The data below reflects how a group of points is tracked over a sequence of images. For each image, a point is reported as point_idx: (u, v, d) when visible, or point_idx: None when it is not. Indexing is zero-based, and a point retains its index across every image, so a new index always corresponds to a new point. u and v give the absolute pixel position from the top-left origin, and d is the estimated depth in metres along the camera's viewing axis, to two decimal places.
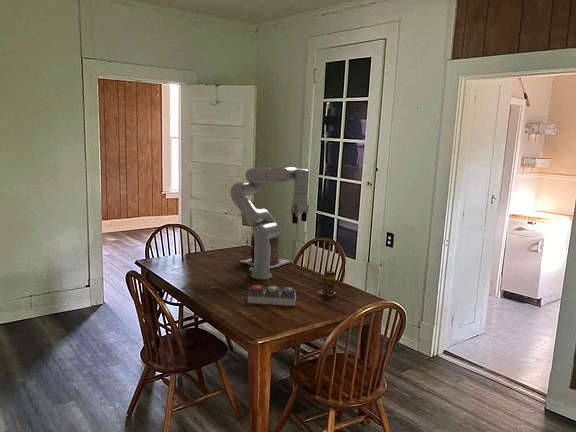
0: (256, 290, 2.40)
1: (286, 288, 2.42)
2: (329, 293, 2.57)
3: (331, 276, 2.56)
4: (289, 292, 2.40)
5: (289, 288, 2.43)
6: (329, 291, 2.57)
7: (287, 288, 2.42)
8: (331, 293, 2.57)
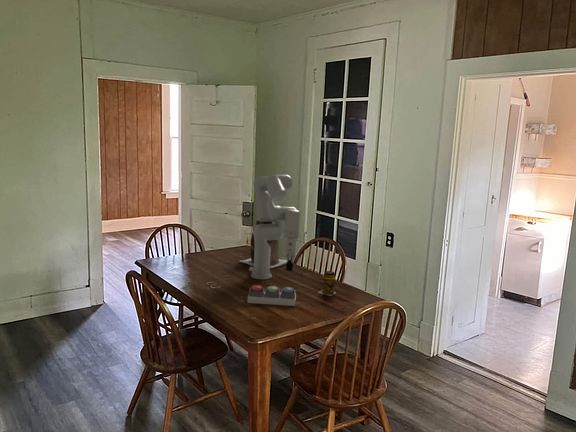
0: (256, 290, 2.40)
1: (286, 288, 2.42)
2: (329, 293, 2.57)
3: (331, 276, 2.56)
4: (289, 292, 2.40)
5: (289, 288, 2.43)
6: (329, 291, 2.57)
7: (287, 288, 2.42)
8: (331, 293, 2.57)
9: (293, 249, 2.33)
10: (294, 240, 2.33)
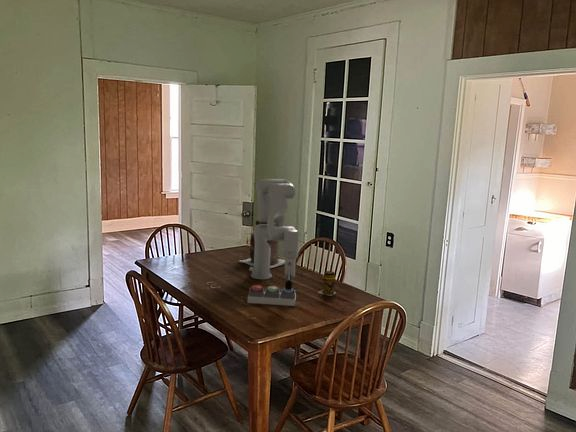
0: (256, 290, 2.40)
1: None
2: (329, 293, 2.57)
3: (331, 276, 2.56)
4: (289, 292, 2.40)
5: None
6: (329, 291, 2.57)
7: None
8: (331, 293, 2.57)
9: (292, 269, 2.35)
10: (293, 260, 2.35)
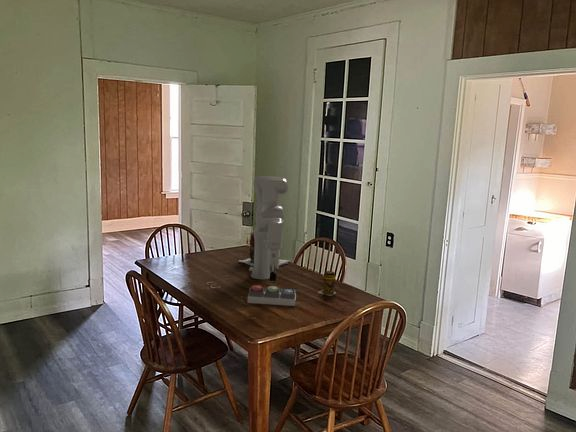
0: (256, 290, 2.40)
1: (286, 290, 2.43)
2: (329, 293, 2.57)
3: (331, 276, 2.56)
4: None
5: (289, 290, 2.43)
6: (329, 291, 2.57)
7: (287, 290, 2.43)
8: (331, 293, 2.57)
9: (276, 260, 2.35)
10: (277, 251, 2.35)
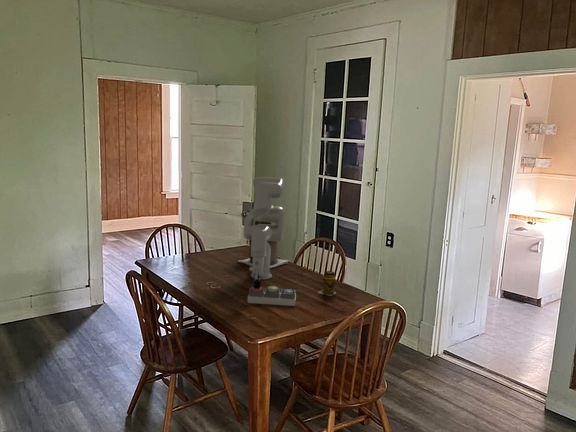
0: (256, 291, 2.40)
1: (286, 290, 2.43)
2: (329, 293, 2.57)
3: (331, 276, 2.56)
4: None
5: (289, 290, 2.43)
6: (329, 291, 2.57)
7: (287, 290, 2.43)
8: (331, 293, 2.57)
9: (260, 268, 2.36)
10: (261, 259, 2.35)
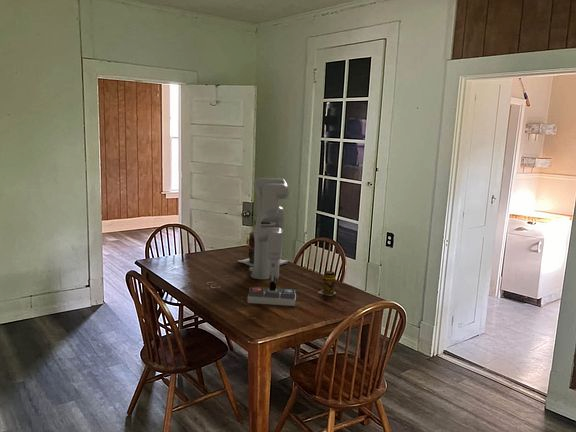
0: None
1: (286, 290, 2.43)
2: (329, 293, 2.57)
3: (331, 276, 2.56)
4: None
5: (289, 290, 2.43)
6: (329, 291, 2.57)
7: (287, 290, 2.43)
8: (331, 293, 2.57)
9: (276, 270, 2.35)
10: (277, 261, 2.35)
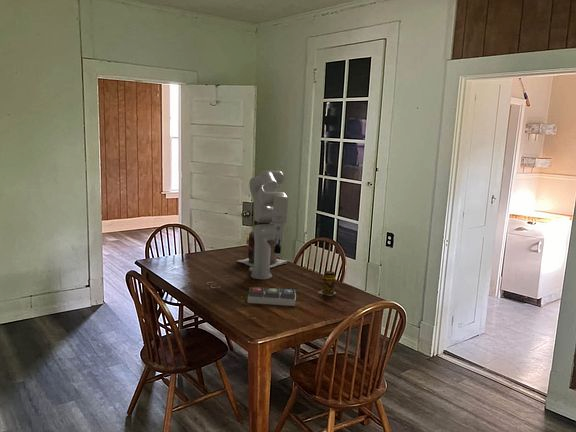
0: None
1: (286, 290, 2.43)
2: (329, 293, 2.57)
3: (331, 276, 2.56)
4: None
5: (289, 290, 2.43)
6: (329, 291, 2.57)
7: (287, 290, 2.43)
8: (331, 293, 2.57)
9: (281, 233, 2.42)
10: (282, 225, 2.41)
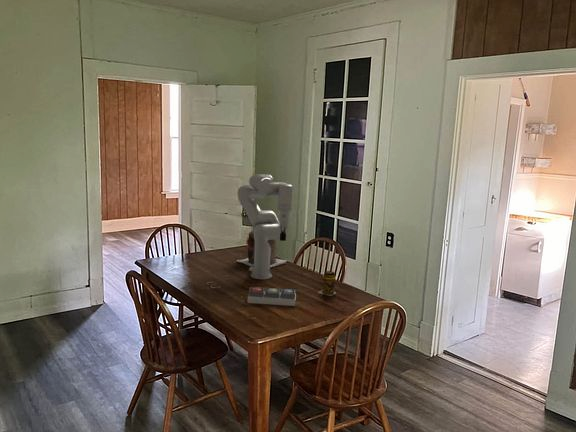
0: None
1: (286, 290, 2.43)
2: (329, 293, 2.57)
3: (331, 276, 2.56)
4: None
5: (289, 290, 2.43)
6: (329, 291, 2.57)
7: (287, 290, 2.43)
8: (331, 293, 2.57)
9: (286, 220, 2.53)
10: (287, 212, 2.53)
